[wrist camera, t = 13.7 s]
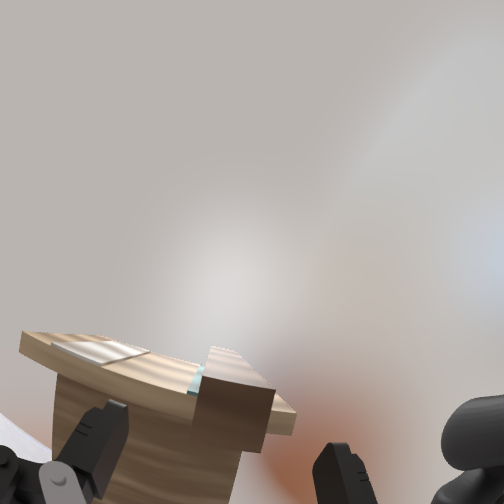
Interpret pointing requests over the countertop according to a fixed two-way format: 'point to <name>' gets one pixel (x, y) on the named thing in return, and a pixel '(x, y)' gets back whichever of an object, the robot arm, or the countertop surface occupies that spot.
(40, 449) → the countertop surface
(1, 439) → the countertop surface
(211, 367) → the walnut bar
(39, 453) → the countertop surface
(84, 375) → the oak lectern
